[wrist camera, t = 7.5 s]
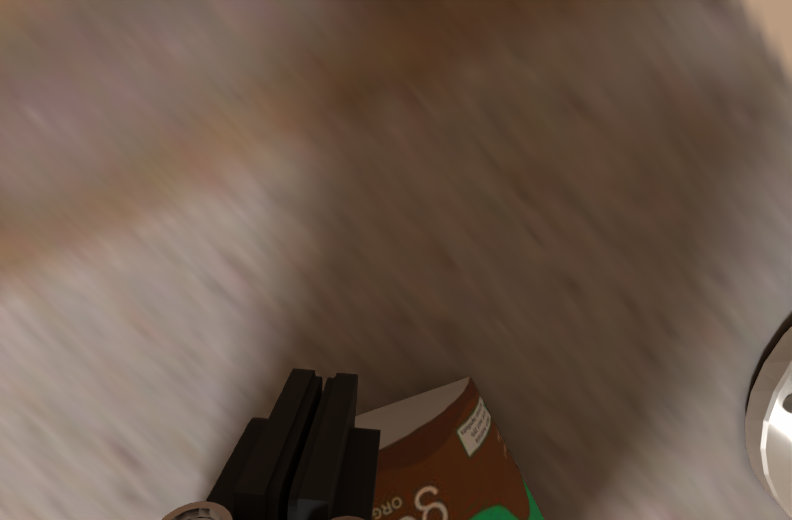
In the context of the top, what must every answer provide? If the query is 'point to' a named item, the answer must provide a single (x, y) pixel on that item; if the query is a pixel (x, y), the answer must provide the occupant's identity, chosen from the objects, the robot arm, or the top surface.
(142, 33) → the top surface
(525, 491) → the food container
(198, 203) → the top surface
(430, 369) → the top surface
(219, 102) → the top surface
